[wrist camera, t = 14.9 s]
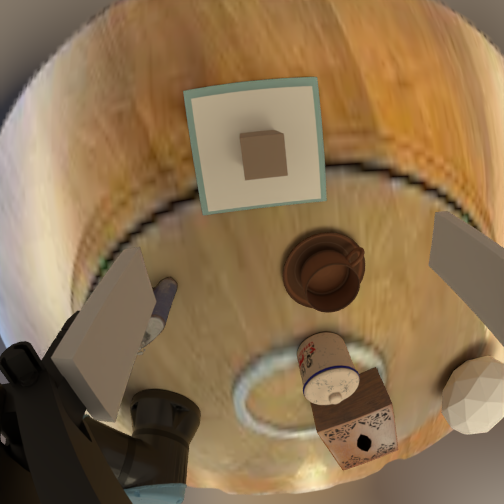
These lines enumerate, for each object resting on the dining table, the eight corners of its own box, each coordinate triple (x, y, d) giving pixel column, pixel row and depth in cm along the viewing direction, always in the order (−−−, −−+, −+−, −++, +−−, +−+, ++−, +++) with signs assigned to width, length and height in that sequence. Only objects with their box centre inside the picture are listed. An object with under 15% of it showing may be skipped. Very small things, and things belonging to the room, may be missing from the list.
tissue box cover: (387, 419, 64) (398, 449, 55) (335, 439, 66) (343, 470, 57) (375, 366, 54) (392, 403, 45) (308, 392, 56) (316, 432, 47)
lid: (209, 208, 38) (200, 236, 30) (192, 99, 32) (177, 94, 24) (318, 196, 38) (340, 220, 30) (309, 86, 32) (331, 78, 24)
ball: (437, 367, 66) (419, 435, 54) (475, 330, 52) (463, 413, 40) (486, 384, 60) (474, 449, 48) (529, 351, 45) (524, 428, 33)
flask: (168, 273, 43) (150, 323, 32) (184, 287, 44) (170, 340, 34) (128, 307, 45) (105, 357, 35) (142, 320, 46) (123, 371, 36)
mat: (203, 213, 39) (202, 215, 39) (184, 91, 32) (183, 91, 32) (325, 199, 39) (326, 200, 38) (315, 77, 32) (316, 77, 32)
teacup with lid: (300, 329, 48) (314, 383, 38) (351, 329, 49) (373, 379, 38) (288, 377, 53) (296, 428, 43) (334, 376, 54) (348, 424, 43)
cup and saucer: (305, 214, 40) (315, 231, 34) (374, 246, 42) (392, 266, 37) (267, 286, 45) (271, 311, 39) (335, 310, 47) (345, 334, 41)
